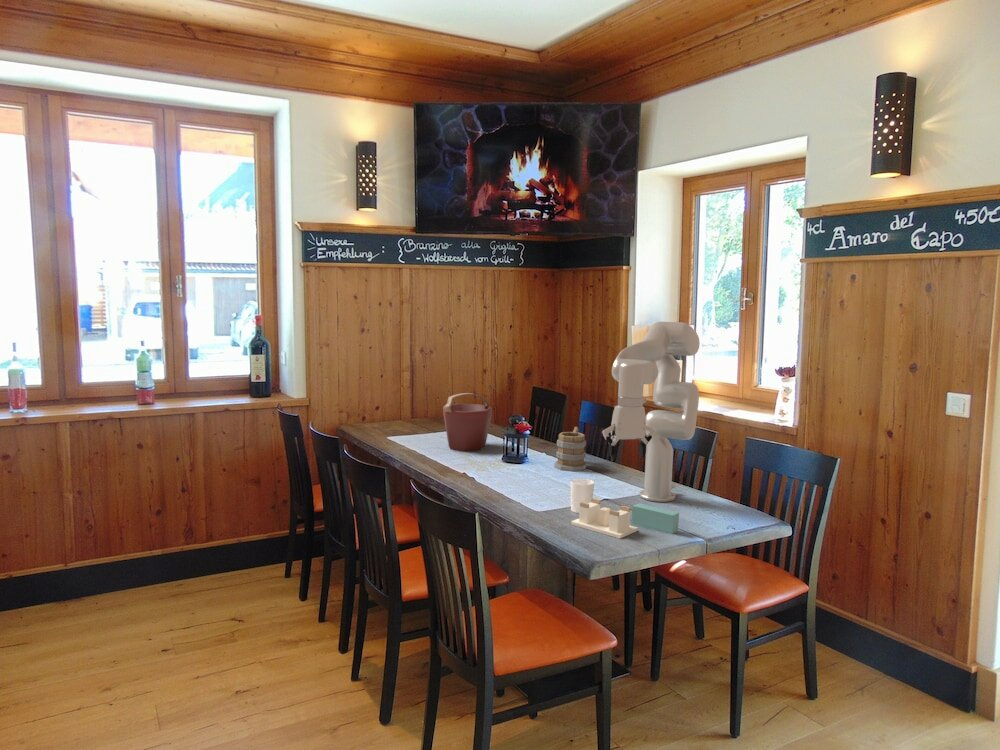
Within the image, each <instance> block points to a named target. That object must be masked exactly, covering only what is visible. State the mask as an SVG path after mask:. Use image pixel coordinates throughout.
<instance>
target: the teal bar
mask: <svg viewBox="0 0 1000 750" xmlns="http://www.w3.org/2000/svg"><path fill="white" fill-rule="evenodd" d="M631 513H632V514H631V524H632V525H635V526H639V527H644V528H647V529H651V530H655V531H658V532H659V531H660V532H662V531H663V533H667V534H671V535H673V534H675V533H676V532H678V531H679V522H680V521H679V519H680V512H678V511H674V510H670V509H665V508H660V507H656V506H652V505H648V504H643V503H639V502H638V503H637V504H634V505H632V512H631Z"/></svg>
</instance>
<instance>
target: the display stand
mask: <svg viewBox="0 0 1000 750" xmlns="http://www.w3.org/2000/svg"><path fill="white" fill-rule="evenodd" d="M578 514H579V515H578V516H579V518H576V519H573V520H571V521H570V525H572V526H575V527H579V528H582V529H585V530H589V531H592V532H596V533H599V534H602V535H603V534H604V535H605V536H610V537H614V538H617V539H622V538H624V537H626V536H629V535H631V534H633V533H636V532H638V528H639V527H638V526H637V527H636V526H633V525H631V523H630V522H631V507H630V506H626V505H620V509H619V510H614V509H611V508H609V507H605V506H604V507H601V499H597V498H595V497H593V498H592V499H591V502H590V503H588V504H587V503H583V502H580V513H578Z"/></svg>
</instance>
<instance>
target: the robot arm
mask: <svg viewBox="0 0 1000 750" xmlns="http://www.w3.org/2000/svg"><path fill="white" fill-rule="evenodd" d="M700 343H701V342H700V338H699V334H698V333H697V331H695V329H694V328H693V326H691V325H690V324H688V323H686V322H681V321H679V322H678V321H677V322H676V321H656V322H654V323H653V324H651V326H650V327H649V329H648V331H647V332H646V334H645V335H644V337H643V338H642V340H640V341H638V342H636V343H634V344H631V345H629V346H627V347H625V348H623V349H622V350H621V351H620V352H619V353H618V355H617V356H616V358H615V359H614V361H613V364H612V366H611V376H612V378H613V379H614V380H615V381H616V382H618V393H617V405H615V406H614V407H613V408H614V409H613V412H612V417H611V418H612V419H611V423H610V424H611V425H610V426H608V427H607V428H605V429H603V430H602V431H601V433H602V436H603V437H604V440H605V441H606V442H607V443H608V445H609V448H608V450H609V453H608V454H609V457H610V458H613V459H617V451H618V450H617V447H618V446H617V445H616V444H617V443H618V442H619V441H620V440H639V441H640V442H639V443H638V456H639V457H641V458H645V465H644V485H643V489H642V490H640V491H639V495H638V496H639V497H640V498H642V499H643V500H646V501H650V502H659V503H665V502H667V503H668V502H672V501H675V499H676V494H675V493H673V492H672V490H673V489H674V488H676V484H675V482H672V479H673V463H674V462H673V461H674V449H673V446H672V444H671V442H670V440H669V439H674V440H683V441H689V440H691V439H692V438H693V437H694V435H695V433H696V432H695V431H696V428H697V427H696V426H697V416H698V411H699V410H698V409H699V401H700V391H699V388H698V386H697V385H696V384H695V383H693V382H684V381H680V378H681V366H680V364H679V363H678V360H677V359H676V358H675V356H684V357H685V356H687V357H692V356H694V355H695V356H696V355H697V353H698V352H699V349H700ZM653 383H654V384H653ZM651 384H653V392H652V400H653V403H654V405H656V406H658V407H663V408H670V409H681V410H682V411H683V412H682V411H680V412H679V411H672V410H664V409H663V410H662V409H655V410H651V411H649V412H647V414H646V411H645V410H646V409H645V407H644V404H646V403H647V398H644V385H651ZM609 434H610V435H609ZM610 436H611V437H610Z"/></svg>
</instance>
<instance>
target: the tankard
mask: <svg viewBox="0 0 1000 750" xmlns="http://www.w3.org/2000/svg"><path fill="white" fill-rule="evenodd" d="M585 435H586V434H584V433H581V432H579V427H578V426H574V429H573V430H572V431H563V432H560V433H559V434H558V439H557V440H556V446H557V450H556V452H555V454H556V456H555V457H556V458H557V460H556V461H555V462H554V468H556V469H557V470H561V471H568V472H579V471H584V470H585V469H587V467H588V464H587V463H586V462H585V461H584V460H585V458H586V454H587V453H586V451H585V447H586V445H587V440H585V437H586V436H585Z"/></svg>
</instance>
